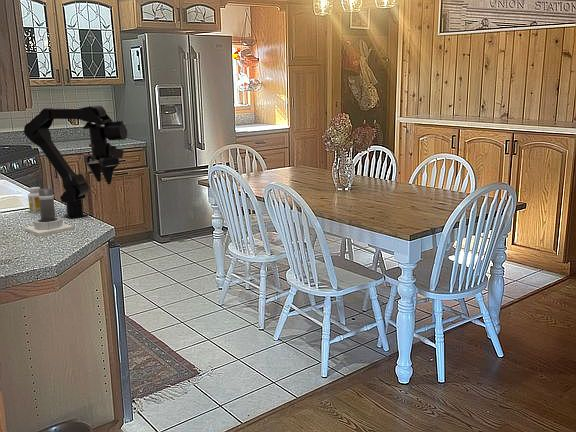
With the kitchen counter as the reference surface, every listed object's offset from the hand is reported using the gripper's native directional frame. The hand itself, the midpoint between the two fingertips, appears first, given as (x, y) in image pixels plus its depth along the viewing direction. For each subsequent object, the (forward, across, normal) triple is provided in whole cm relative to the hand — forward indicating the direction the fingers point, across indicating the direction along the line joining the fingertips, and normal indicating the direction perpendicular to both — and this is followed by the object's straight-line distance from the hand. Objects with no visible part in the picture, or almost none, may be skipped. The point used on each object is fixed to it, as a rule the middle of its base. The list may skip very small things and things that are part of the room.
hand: (104, 182), depth 218 cm
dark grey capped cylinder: (+11, -4, +23) cm, 26 cm away
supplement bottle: (+12, +29, +17) cm, 36 cm away
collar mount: (+12, -4, +23) cm, 27 cm away
